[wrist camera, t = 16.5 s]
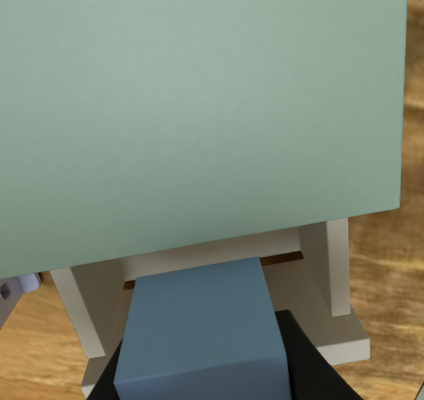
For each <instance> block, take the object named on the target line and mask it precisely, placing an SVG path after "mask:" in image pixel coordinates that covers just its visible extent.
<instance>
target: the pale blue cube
mask: <svg viewBox="0 0 424 400" xmlns="http://www.w3.org/2000/svg"><path fill="white" fill-rule="evenodd" d="M114 386H115V388H116V390H117V393H118V395H119V398H120V400H292V394H291V387H290V379H289V371H288V364H287V356H286V351H285V348H284V344H283V341H282V337H281V334H280V330H279V326H278V323H277V319H276V316H275V312H274V309H273V305H272V302H271V298H270V294H269V291H268V287H267V284H266V280H265V277H264V273H263V270H262V266H261V262H260V259H259V257H257V256H256V257H250V258H245V259H239V260H233V261H228V262H222V263H216V264H211V265H205V266H199V267H194V268H188V269H182V270H176V271H171V272H165V273H159V274H154V275H148V276H142V277H137V278H136V281H135V286H134V290H133V295H132V300H131V304H130V309H129V313H128V318H127V323H126V327H125V332H124V336H123V341H122V346H121V350H120V355H119V359H118V364H117V369H116V373H115V378H114Z"/></svg>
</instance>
